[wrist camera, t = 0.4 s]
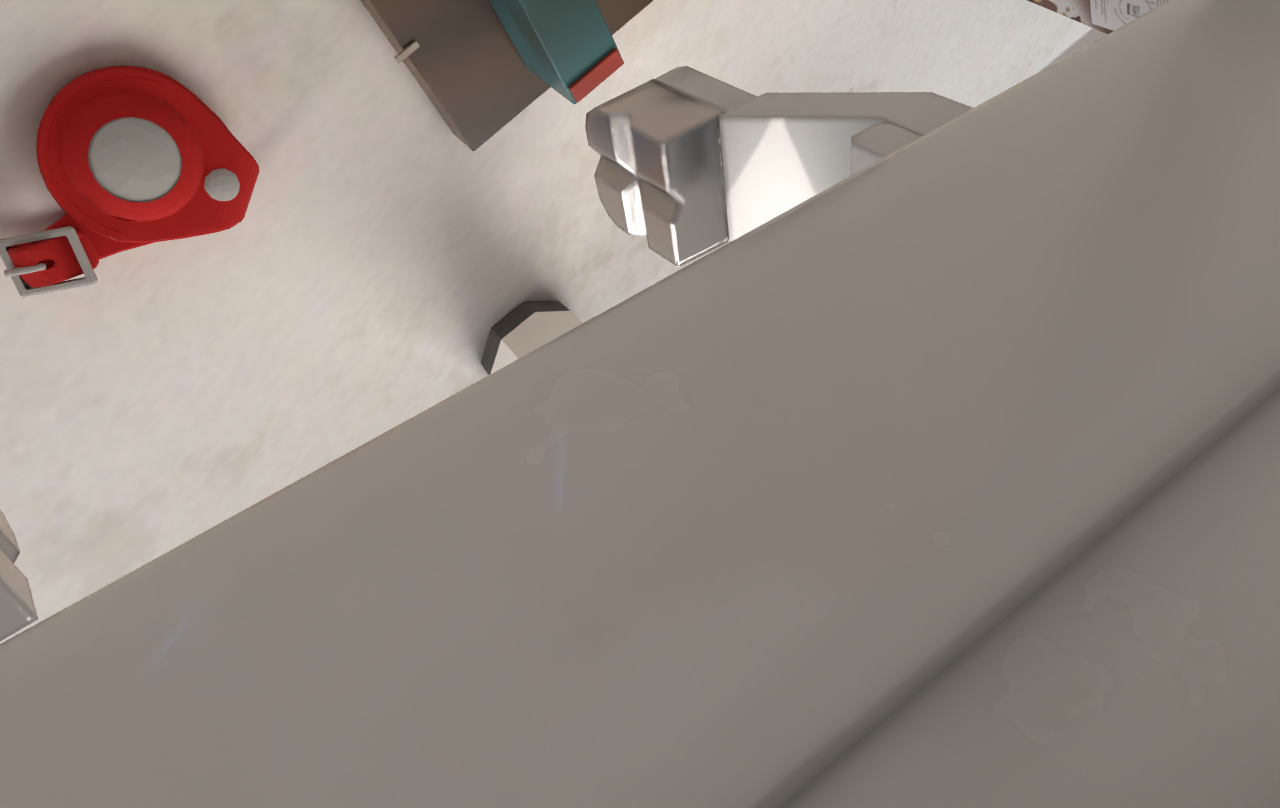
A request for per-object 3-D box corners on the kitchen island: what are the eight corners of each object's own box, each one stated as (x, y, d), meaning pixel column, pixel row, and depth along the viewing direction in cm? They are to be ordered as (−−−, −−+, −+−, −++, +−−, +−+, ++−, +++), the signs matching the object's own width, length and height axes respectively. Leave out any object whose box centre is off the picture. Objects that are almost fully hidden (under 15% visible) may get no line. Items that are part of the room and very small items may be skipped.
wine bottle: (574, 362, 76) (838, 636, 59) (484, 402, 73) (736, 705, 56) (571, 281, 70) (862, 558, 53) (473, 321, 67) (750, 630, 50)
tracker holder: (52, 33, 41) (287, 121, 47) (51, 29, 44) (269, 112, 50) (-19, 298, 43) (214, 351, 49) (-15, 275, 46) (202, 327, 52)
